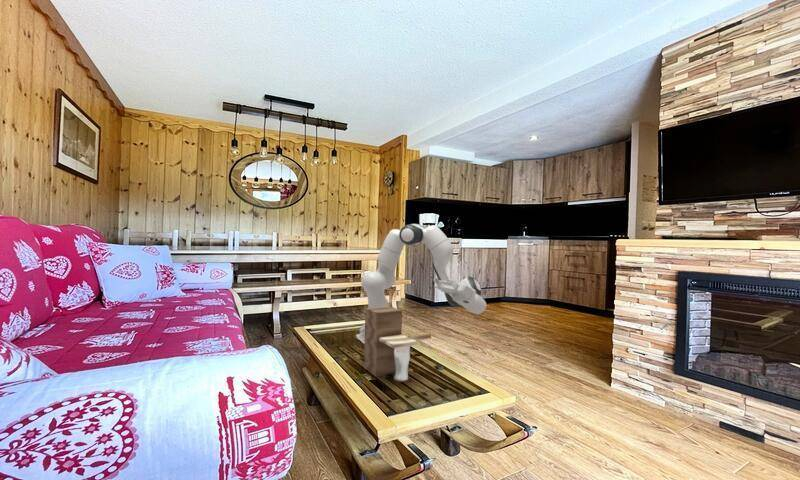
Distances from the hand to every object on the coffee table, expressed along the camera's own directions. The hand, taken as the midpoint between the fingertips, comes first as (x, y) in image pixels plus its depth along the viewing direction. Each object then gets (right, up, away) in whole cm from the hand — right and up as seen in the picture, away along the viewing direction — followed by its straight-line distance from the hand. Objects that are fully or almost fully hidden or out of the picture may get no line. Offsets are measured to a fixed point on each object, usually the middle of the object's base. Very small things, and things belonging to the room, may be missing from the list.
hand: (441, 280), depth 154 cm
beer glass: (-18, -38, -16) cm, 45 cm away
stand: (-27, -38, -7) cm, 47 cm away
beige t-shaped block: (-15, -23, -14) cm, 31 cm away
